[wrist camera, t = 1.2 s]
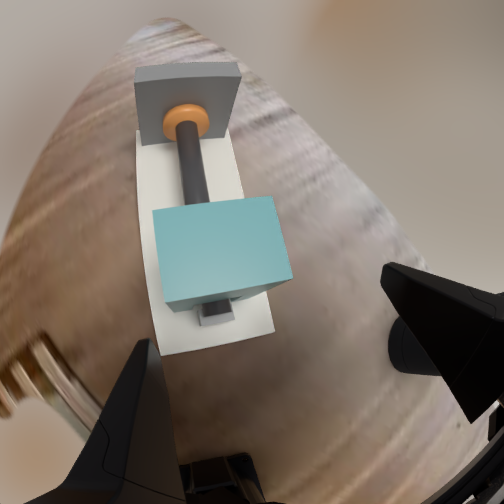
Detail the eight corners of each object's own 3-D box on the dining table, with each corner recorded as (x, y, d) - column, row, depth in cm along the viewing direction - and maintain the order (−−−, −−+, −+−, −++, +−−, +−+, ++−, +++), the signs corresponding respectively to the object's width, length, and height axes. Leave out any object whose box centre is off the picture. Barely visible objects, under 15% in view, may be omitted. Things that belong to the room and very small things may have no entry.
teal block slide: (268, 331, 20) (323, 332, 12) (162, 353, 18) (146, 374, 10) (223, 132, 24) (243, 61, 16) (138, 140, 21) (128, 68, 13)
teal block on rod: (248, 298, 18) (293, 278, 11) (173, 312, 17) (165, 302, 9) (236, 247, 19) (271, 195, 11) (164, 258, 17) (152, 210, 10)
